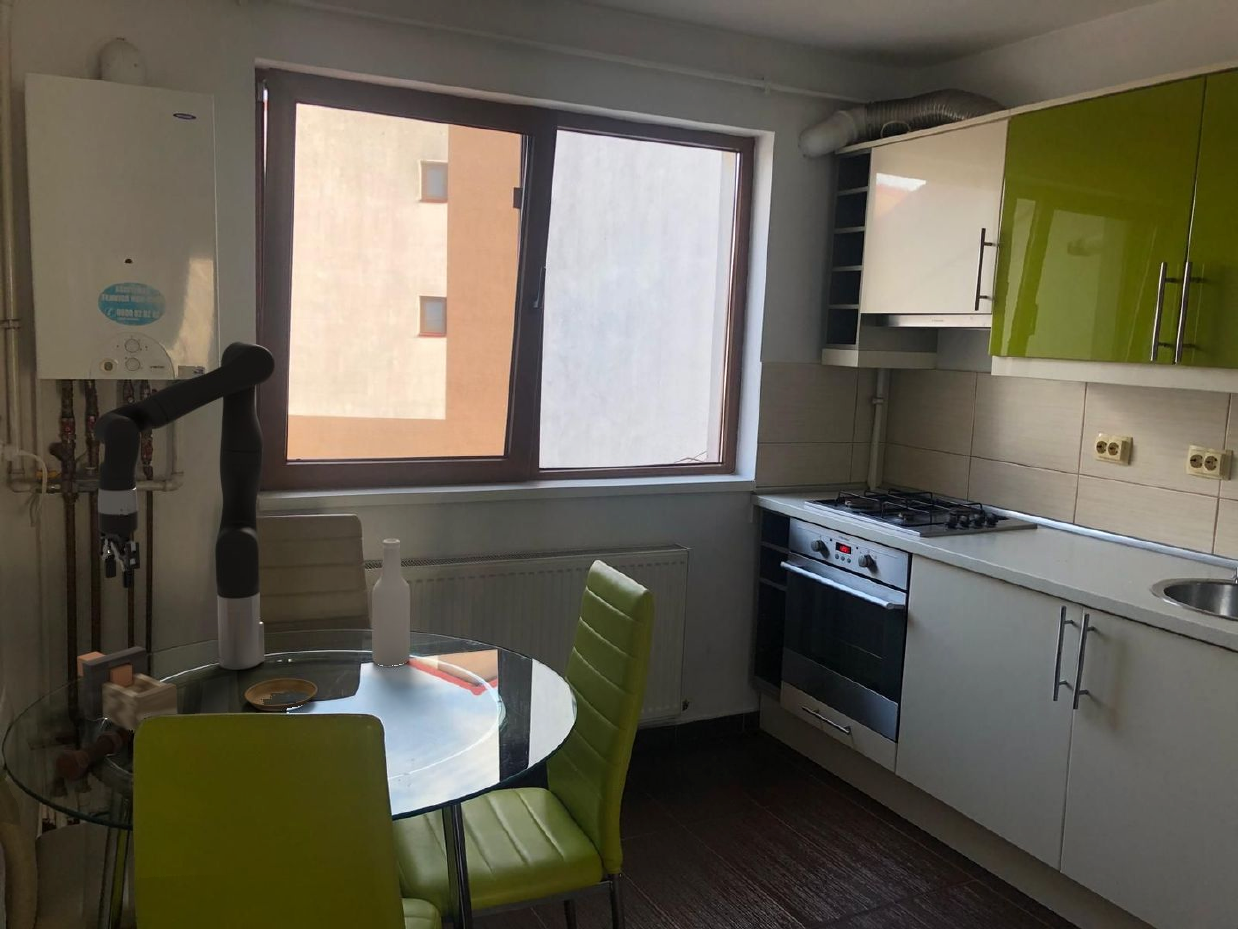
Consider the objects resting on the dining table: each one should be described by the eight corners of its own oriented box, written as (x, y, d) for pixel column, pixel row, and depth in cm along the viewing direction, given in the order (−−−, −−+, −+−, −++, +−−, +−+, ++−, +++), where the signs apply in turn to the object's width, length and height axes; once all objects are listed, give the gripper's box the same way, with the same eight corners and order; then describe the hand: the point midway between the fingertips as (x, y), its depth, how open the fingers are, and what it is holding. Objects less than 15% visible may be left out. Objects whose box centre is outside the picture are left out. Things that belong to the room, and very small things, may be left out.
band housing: (85, 718, 204) (82, 662, 202) (140, 699, 214) (137, 646, 212) (131, 739, 196) (129, 681, 194) (186, 719, 206) (184, 663, 204)
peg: (78, 675, 211) (77, 656, 211) (96, 669, 215) (95, 651, 214) (114, 690, 205) (113, 671, 204) (132, 684, 208) (131, 665, 207)
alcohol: (392, 651, 248) (393, 534, 243) (417, 660, 243) (418, 540, 238) (364, 661, 241) (364, 540, 236) (389, 671, 236) (389, 547, 231)
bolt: (129, 753, 195) (71, 787, 180) (109, 738, 195) (50, 770, 181) (141, 730, 193) (84, 763, 179) (121, 715, 194) (63, 746, 179)
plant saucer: (231, 703, 215) (230, 691, 215) (290, 683, 227) (290, 672, 226) (271, 723, 207) (271, 711, 206) (331, 702, 218) (331, 690, 218)
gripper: (85, 504, 213) (86, 577, 216) (114, 518, 204) (116, 594, 207) (121, 499, 218) (122, 571, 221) (151, 513, 209) (152, 587, 212)
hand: (119, 582), depth 214 cm, fingers open, 8 cm apart
